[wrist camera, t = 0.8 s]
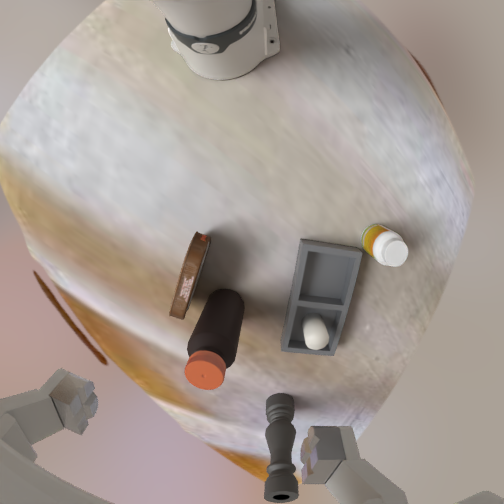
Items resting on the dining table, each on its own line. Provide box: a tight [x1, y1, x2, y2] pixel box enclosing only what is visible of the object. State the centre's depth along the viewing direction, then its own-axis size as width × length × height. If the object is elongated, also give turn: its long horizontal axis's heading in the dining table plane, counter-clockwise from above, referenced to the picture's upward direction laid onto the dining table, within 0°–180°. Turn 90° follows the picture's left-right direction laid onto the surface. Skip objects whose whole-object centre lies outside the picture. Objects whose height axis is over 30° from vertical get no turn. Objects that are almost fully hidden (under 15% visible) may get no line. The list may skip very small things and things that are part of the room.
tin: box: [169, 232, 211, 319], centre depth 46 cm, size 15×3×8 cm, turn 159°
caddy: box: [281, 239, 363, 356], centre depth 48 cm, size 20×10×4 cm, turn 173°
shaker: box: [302, 313, 329, 350], centre depth 47 cm, size 4×4×6 cm
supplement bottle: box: [361, 224, 408, 267], centre depth 42 cm, size 5×5×10 cm
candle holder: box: [264, 393, 299, 503], centre depth 45 cm, size 6×6×25 cm
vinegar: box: [185, 289, 244, 390], centre depth 42 cm, size 7×7×20 cm
